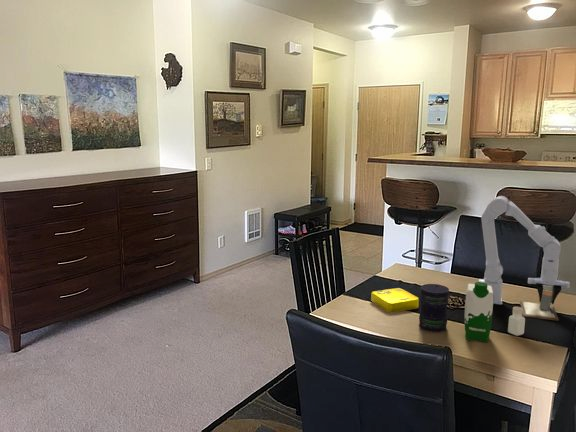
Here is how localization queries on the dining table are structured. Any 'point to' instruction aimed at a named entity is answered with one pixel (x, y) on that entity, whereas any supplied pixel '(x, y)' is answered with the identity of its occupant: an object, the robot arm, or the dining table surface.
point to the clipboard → (538, 311)
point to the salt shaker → (516, 322)
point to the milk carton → (478, 311)
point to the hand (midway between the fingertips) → (546, 302)
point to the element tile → (394, 300)
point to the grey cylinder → (546, 300)
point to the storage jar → (433, 308)
